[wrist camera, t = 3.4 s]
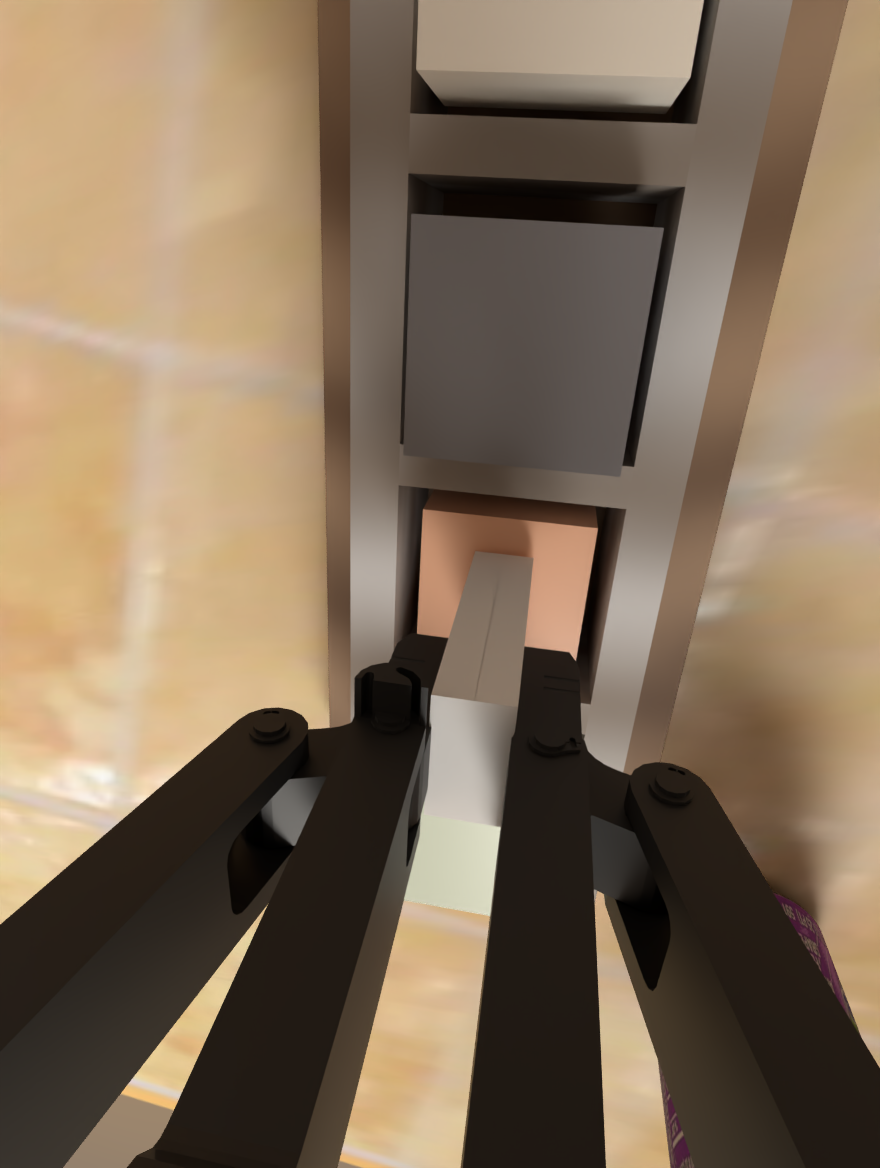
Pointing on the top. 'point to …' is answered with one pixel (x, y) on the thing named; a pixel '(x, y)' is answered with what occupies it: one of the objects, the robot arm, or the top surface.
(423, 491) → the slotted block tray
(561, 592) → the key terracotta
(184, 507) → the top surface
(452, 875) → the key sage
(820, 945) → the beverage can
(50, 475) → the top surface
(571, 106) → the key ivory
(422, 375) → the key charcoal
